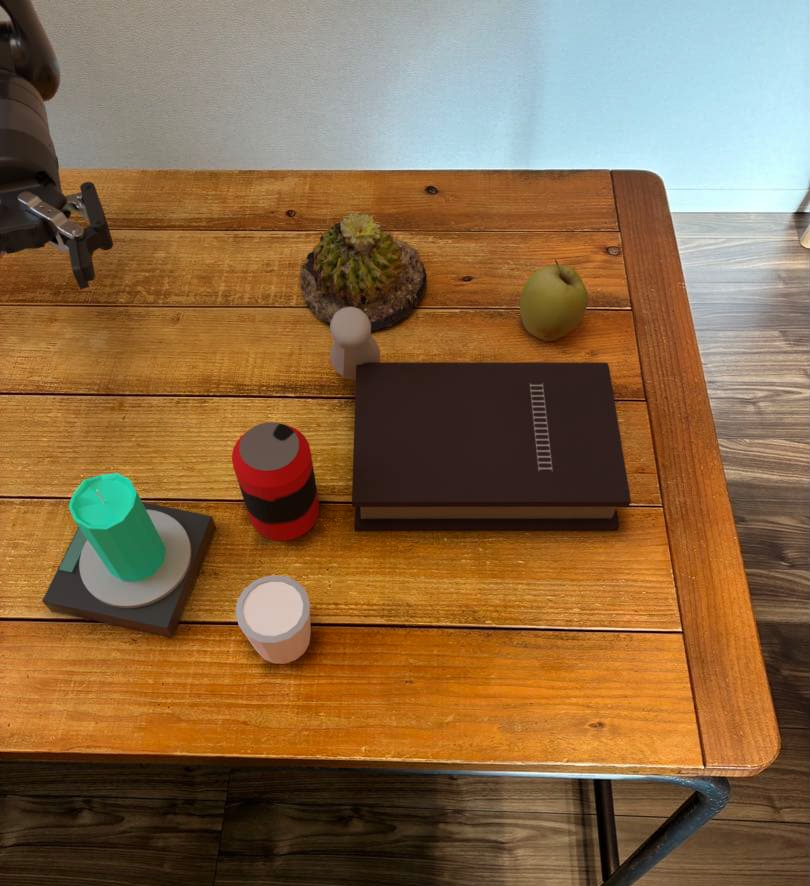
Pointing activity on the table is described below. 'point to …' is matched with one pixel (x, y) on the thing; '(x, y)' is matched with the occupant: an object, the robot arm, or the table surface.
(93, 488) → the candle
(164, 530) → the kitchen scale
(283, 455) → the soda can
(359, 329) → the salt shaker
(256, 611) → the yogurt cup
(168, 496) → the table surface
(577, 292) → the apple
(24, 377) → the table surface
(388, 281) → the cactus
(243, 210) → the table surface
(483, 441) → the book
